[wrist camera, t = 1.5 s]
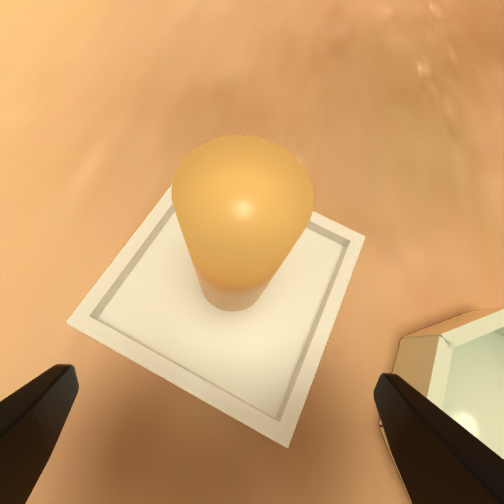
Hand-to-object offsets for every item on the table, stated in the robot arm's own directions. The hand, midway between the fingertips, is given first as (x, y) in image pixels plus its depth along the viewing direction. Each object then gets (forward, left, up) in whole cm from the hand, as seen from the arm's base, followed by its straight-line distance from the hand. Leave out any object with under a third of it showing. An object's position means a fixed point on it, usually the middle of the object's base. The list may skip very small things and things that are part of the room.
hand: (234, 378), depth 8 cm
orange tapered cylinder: (+6, +2, -11) cm, 13 cm away
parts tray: (+6, +2, -12) cm, 14 cm away
